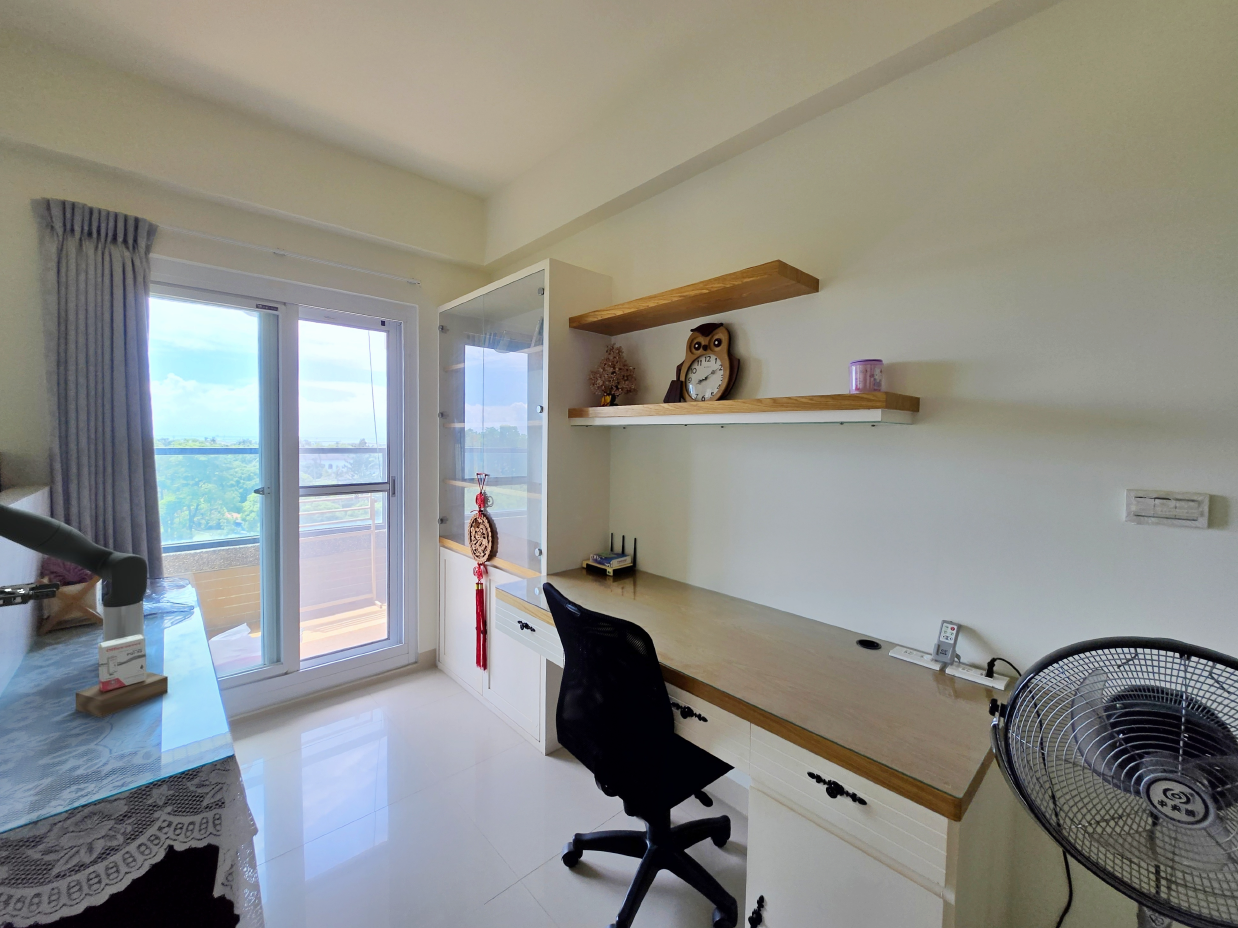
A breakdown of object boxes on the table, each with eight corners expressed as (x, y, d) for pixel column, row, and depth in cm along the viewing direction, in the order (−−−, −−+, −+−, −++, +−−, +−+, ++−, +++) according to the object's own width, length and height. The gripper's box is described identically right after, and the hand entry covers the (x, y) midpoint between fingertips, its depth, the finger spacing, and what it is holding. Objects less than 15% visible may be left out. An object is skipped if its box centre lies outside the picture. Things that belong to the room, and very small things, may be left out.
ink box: (101, 692, 127) (100, 647, 127) (98, 687, 130) (96, 643, 130) (147, 679, 134) (145, 636, 134) (143, 675, 137) (141, 633, 137)
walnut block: (75, 711, 128) (75, 692, 128) (142, 687, 141) (142, 669, 141) (101, 719, 124) (101, 699, 124) (167, 694, 138) (167, 676, 137)
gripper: (-51, 592, 114) (55, 580, 126) (-37, 580, 125) (60, 570, 136) (-51, 624, 115) (55, 609, 126) (-36, 609, 125) (60, 597, 136)
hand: (58, 589), depth 131 cm, fingers open, 8 cm apart
